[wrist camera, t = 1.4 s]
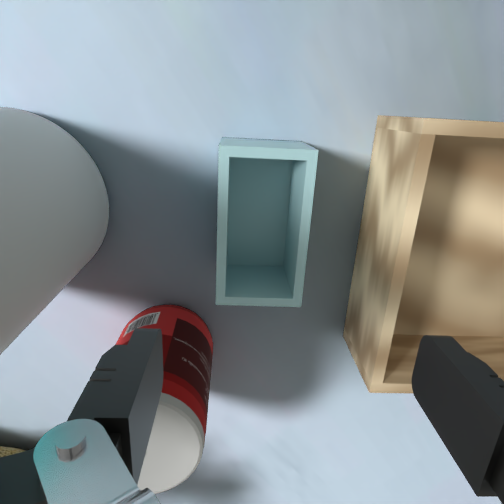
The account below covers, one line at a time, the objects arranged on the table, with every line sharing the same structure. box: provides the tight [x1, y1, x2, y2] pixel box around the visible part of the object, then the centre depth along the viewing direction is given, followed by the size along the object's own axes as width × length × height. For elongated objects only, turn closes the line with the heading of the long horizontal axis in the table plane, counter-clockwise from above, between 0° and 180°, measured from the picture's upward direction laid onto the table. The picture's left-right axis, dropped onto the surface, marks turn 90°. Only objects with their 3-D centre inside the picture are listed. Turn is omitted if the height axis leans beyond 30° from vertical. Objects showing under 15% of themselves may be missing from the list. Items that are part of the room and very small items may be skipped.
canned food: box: [116, 305, 213, 494], centre depth 27 cm, size 8×8×11 cm
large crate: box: [343, 115, 504, 393], centre depth 27 cm, size 18×18×7 cm
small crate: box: [216, 137, 319, 307], centre depth 26 cm, size 10×6×6 cm, turn 177°
